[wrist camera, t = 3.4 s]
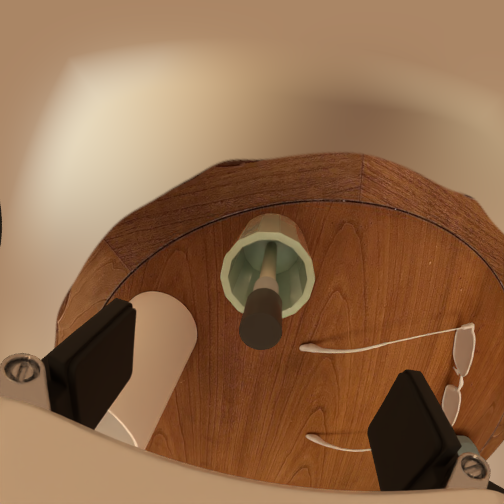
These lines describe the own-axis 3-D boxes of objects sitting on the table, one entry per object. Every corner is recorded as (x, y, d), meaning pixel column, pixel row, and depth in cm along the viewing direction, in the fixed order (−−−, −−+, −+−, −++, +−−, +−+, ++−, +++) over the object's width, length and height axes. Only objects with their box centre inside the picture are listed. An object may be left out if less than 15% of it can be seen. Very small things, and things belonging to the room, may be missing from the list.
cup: (213, 340, 32) (166, 460, 16) (158, 371, 33) (97, 476, 18) (162, 276, 30) (69, 364, 15) (110, 315, 32) (20, 400, 17)
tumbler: (232, 268, 29) (213, 308, 21) (247, 205, 28) (232, 220, 19) (294, 284, 29) (299, 330, 21) (311, 221, 28) (326, 244, 19)
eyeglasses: (441, 414, 32) (451, 434, 28) (306, 440, 34) (307, 463, 30) (461, 310, 28) (479, 326, 25) (298, 336, 31) (300, 358, 27)
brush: (258, 254, 28) (234, 344, 13) (263, 234, 28) (244, 308, 13) (278, 259, 28) (275, 354, 13) (284, 239, 28) (287, 318, 13)
